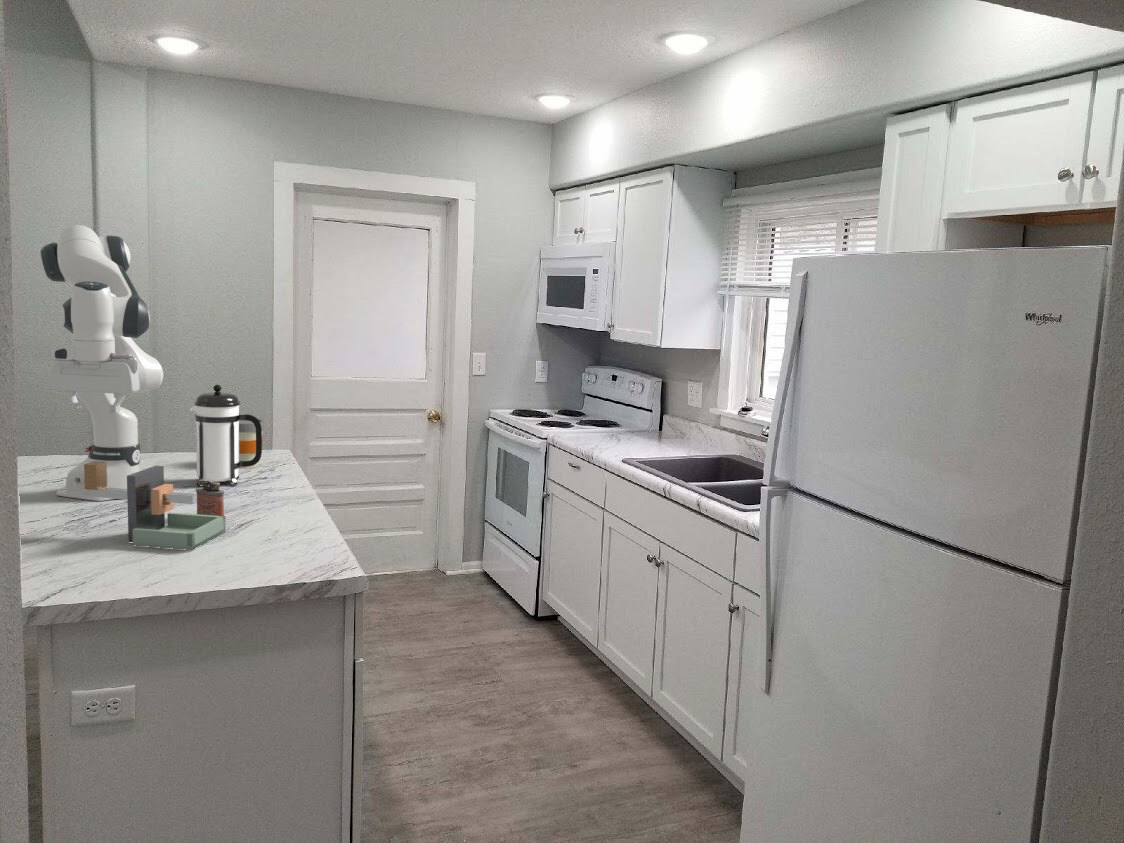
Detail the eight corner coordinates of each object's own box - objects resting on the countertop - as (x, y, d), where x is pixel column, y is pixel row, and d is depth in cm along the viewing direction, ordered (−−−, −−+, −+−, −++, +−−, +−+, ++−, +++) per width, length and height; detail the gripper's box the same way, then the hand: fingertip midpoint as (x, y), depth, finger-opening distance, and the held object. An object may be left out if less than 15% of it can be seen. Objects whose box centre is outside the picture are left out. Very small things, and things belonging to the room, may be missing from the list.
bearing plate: (128, 543, 202) (126, 475, 200) (157, 529, 214) (155, 465, 212) (136, 543, 202) (135, 476, 200) (164, 530, 214) (163, 466, 212)
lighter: (227, 518, 227) (227, 481, 225) (218, 521, 224) (218, 483, 222) (202, 514, 229) (201, 477, 228) (193, 517, 226) (192, 480, 225)
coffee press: (215, 491, 255) (214, 389, 250) (181, 482, 263) (179, 383, 259) (263, 481, 269) (263, 385, 265) (230, 474, 278) (229, 380, 273)
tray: (133, 546, 200) (132, 529, 200) (170, 528, 216) (170, 512, 215) (192, 550, 199) (192, 534, 198) (225, 532, 215) (225, 516, 214)
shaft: (85, 497, 206) (84, 464, 205) (95, 493, 210) (94, 461, 209) (190, 505, 204) (190, 471, 203) (199, 501, 208) (198, 468, 207)
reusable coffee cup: (256, 470, 285) (256, 424, 283) (217, 468, 285) (217, 422, 283) (269, 462, 297) (269, 419, 295) (232, 460, 298) (232, 417, 295)
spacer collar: (151, 514, 204) (151, 489, 203) (165, 508, 210) (165, 483, 209) (159, 515, 204) (159, 489, 203) (173, 508, 210) (173, 484, 209)
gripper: (144, 353, 206) (145, 411, 208) (61, 349, 207) (63, 407, 209) (128, 355, 199) (130, 415, 201) (43, 351, 201) (46, 410, 203)
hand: (95, 411), depth 205 cm, fingers open, 8 cm apart
